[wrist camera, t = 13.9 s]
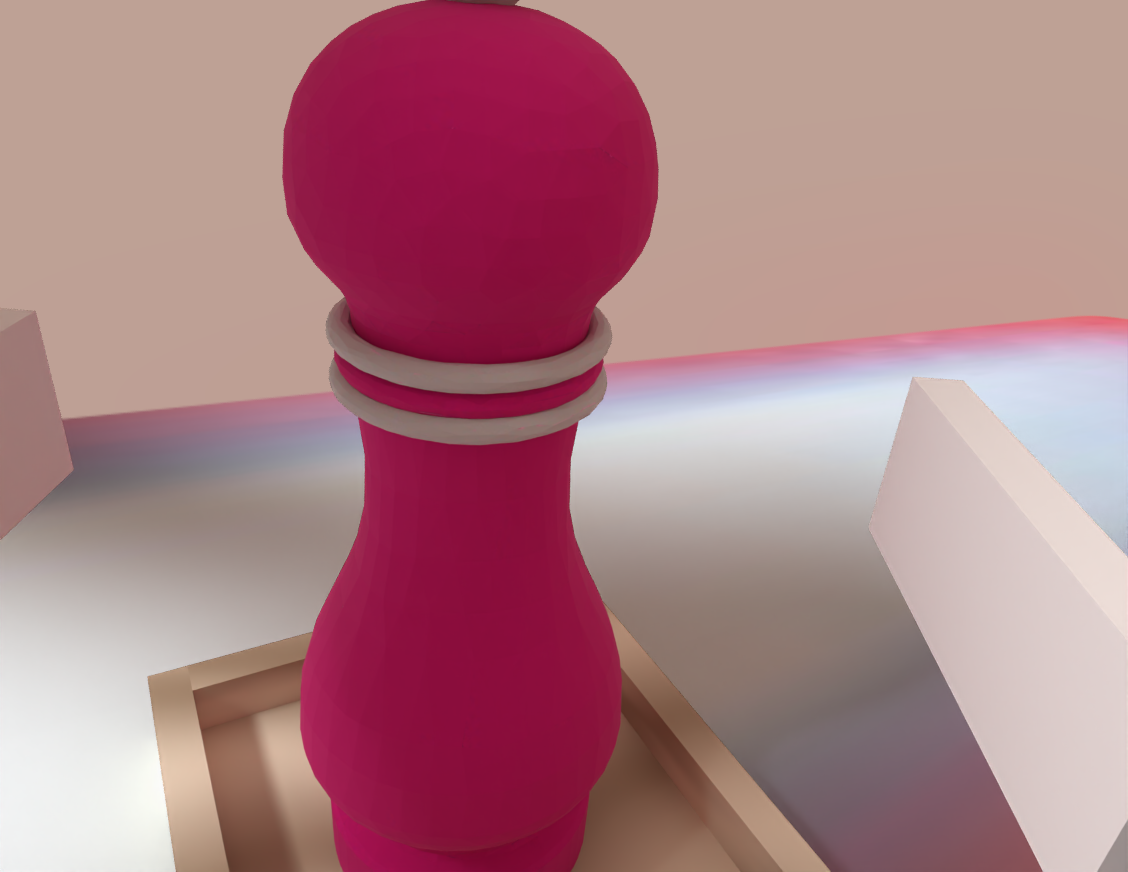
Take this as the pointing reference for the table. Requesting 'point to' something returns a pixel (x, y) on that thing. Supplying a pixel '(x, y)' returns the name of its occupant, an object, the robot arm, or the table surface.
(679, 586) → the table surface
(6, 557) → the table surface
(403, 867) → the pepper mill
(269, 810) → the base
